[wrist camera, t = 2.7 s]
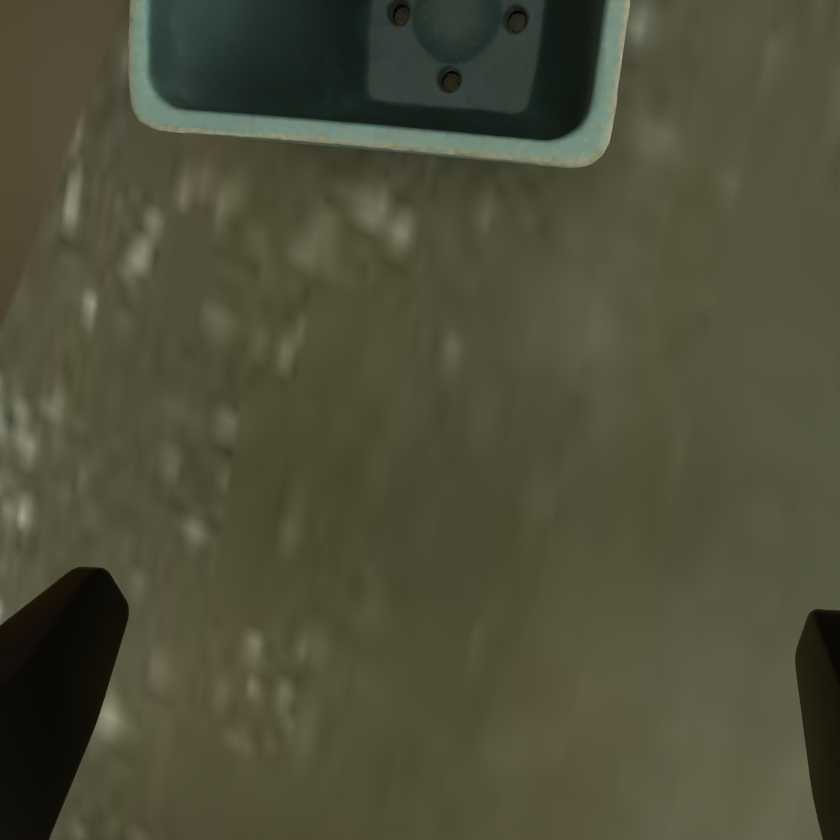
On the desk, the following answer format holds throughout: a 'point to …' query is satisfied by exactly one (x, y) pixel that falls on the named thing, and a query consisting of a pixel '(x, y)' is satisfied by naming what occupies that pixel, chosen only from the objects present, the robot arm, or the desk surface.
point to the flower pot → (384, 74)
